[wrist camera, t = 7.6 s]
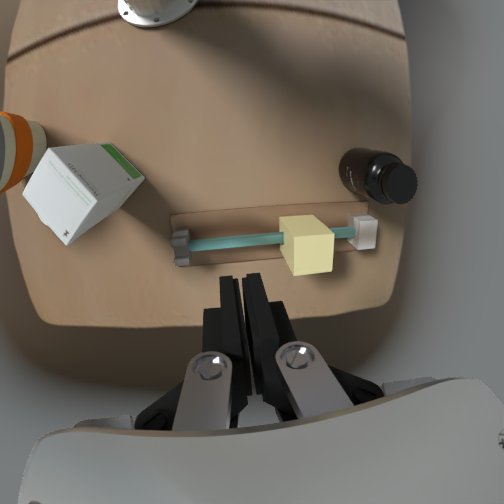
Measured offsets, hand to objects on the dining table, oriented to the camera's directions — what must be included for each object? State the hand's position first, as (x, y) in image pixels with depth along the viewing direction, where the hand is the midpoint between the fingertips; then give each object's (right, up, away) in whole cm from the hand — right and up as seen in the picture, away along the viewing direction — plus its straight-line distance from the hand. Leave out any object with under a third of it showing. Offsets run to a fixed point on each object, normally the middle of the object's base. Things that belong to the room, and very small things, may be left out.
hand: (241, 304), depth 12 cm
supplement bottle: (+16, +15, +27) cm, 35 cm away
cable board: (+4, +5, +29) cm, 30 cm away
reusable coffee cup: (-36, +19, +19) cm, 45 cm away
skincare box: (-20, +13, +23) cm, 33 cm away
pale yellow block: (+7, +5, +29) cm, 31 cm away
